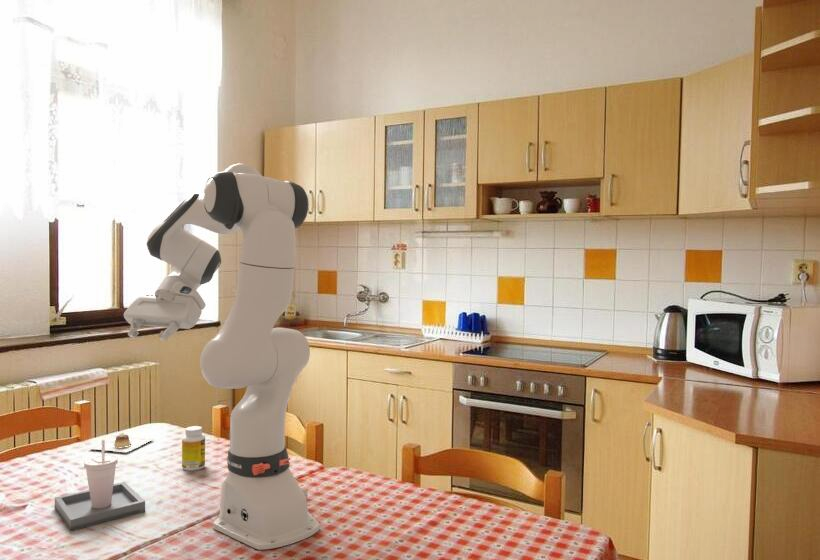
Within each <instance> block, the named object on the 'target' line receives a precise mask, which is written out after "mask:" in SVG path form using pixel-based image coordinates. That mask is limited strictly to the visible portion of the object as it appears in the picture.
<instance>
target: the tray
mask: <svg viewBox="0 0 820 560" xmlns="http://www.w3.org/2000/svg"><path fill="white" fill-rule="evenodd" d="M54 509H55V511H56V513H58V515H59V516H60V518H61V519H62V520H63V523H64V524H65V525H66V527H67V528H68V529H69V532H72V531H77V530H80V529H84V527H85V528H89V527H91V526H96V525H99V524H103V523H107V522H111V521H114V520H118V519H123V518H126V517H129V516H134V515H138V514H140V513H145V512H146V500H145V499H144V498H142V497H141V496H140V495H139V494H138V493H137V492H136V491H135V490H134V489H133V488H132V487H131V486H130V485H129V484H128V483H126V481H122V482H118V483H114V485H113V493H112V501H111V505H109V506H107V507H104V508H92V505H91V499H90V492H89V489H86V490H82V491H79V492H73V493H70V494H65V495H64V494H63V495H61V496H57V497H56V496H55V497H54ZM76 529H77V530H76Z"/></svg>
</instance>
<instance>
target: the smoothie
mask: <svg viewBox="0 0 820 560" xmlns="http://www.w3.org/2000/svg"><path fill="white" fill-rule="evenodd" d="M105 441H106V440H105V439H101V443H102V447H101V449H102V451H101V455H97V456H93V457H90V458H87V459H86V460H85V461H84V463H83V468H84V469H85V472H86V477H87V485H88V490H89V492H90V499H91V505H92V508H104V507H107V506H109V505H111V501H112V493H113V485H114V484H115V483H114V482H115V475H116V474H115V473H116V468H117V465H118V463H119V462H118V457H117V456H115V455H107V454H105V453H106V451H105V450H106V448H105V446H106V445H105Z"/></svg>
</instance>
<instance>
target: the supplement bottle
mask: <svg viewBox="0 0 820 560" xmlns="http://www.w3.org/2000/svg"><path fill="white" fill-rule="evenodd" d="M184 433H185V434H184V435H183V436H182V438H181V468H182V469H183V470H184V471H190V472H193V471H199V470H201V469H203V468H205V466H206V436H205V435H206V434H204V433H203V426H199V425H193V426H188V427H186V428H185V432H184Z"/></svg>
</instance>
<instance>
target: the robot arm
mask: <svg viewBox="0 0 820 560" xmlns="http://www.w3.org/2000/svg"><path fill="white" fill-rule="evenodd" d="M308 211H309V197H308V194H307V192H306V191H305V188H304V187H303V186H301V185H299V184H297V183H295V182H292V181H290V180H285V181H283V180H280V179H277V178H274V177H273V178H272V177H268V176H263V175H262V174H261V173H260V172H259V171H258V170H257V169H256V168H255V167H253V166H251V165H250V164H249V165H248V164H246V163H236V164H232V165H230V166H229V167H228V168H226V169H225V170H224V171H217V172H214V173H212V175H210V177H209V178H208V179H207V181H206V183H205V188H204V190H203V192H202V193H199V192H194V193H192V194H190V195H189V196H187V197H186V198H185V199H184V200H183V201H182V202H181V203H180V204H179V205H178V206H177V207H176V208H175V209H174V210H173V211H172V212H171V214H169V215H168V217H166V219H164V220H163V221H162V222H161V223H159V224H158V225H156V227H154V228H153V230H152V231H151V232H150V234H149V236H148V237H147V240H146V247H147V250H148V252H149V254H150V256H152V257H155V258H156V259H158V260H160V261H163V262H165V263H166V264H169V265H171V266H172V267H171V270H170V272H169V274H168V275H166V276H165V277H164V278H163V280H162V282H161V283H160V284H159V285H158V287H157V289H156V290H155V293H153V294H150V293H147V294H144V295H141V296H139V297H137V298H135V299H134V301H133V302H132V303H130V305H129V306H128V307H127V308H126V310H125V311H124V313H123V318H124V319H125V321H126V322H127V324H129V325H130V329H129V330H128V332H127V336H128V337H129V338H135V339H136V338H137V336H138V335H139V334H140V332H139V331H138V329H140V327H141V326H145V327H157V328H158V327H159V328H165V330H161V331H160V332H159V334H158V338H159V339H160V341H168V339H169V338H170V337H171V336H172V335H173V334H175V333H176V332H177V331H178V330H179V329H184V330H185V329H187V330H190V329H191V328H193V327H195V325H196V324H197V322H198V321H199V319H200V317H201V315H202V312H203V310H204V309H205V307H206V303H205V301H204V299H203V298H202V296H201V294H200V293H199V291H198V290H197V289H198V288H199V287H201V286H202V285H204V284H207V283H209V282H210V281H212V279H213V277H214V274H215V272H217V270H218V269H219V267H220V265H221V264H222V258H221V254H220V250H219V249H217V248H216V247H215V246H213V245H212V244H210V243H209V242H206V241H205V240H204V239H201V238H199V237H198V236H196V235H194V234H193V233H191V232H189V231H188V230H186V229H184V227H185V225H192V226H193V225H194V226H197V227H200V228H203V229H206V230H208V231H210V232H213V233H216V234H221V235H229V234H231V235H232V234H234V233H237V232H239V231H240V230H241V232H242V243H241V248H240V255H239V264H238V273H237V281H236V282H237V283H236V287H235V296H234V299H233V303H232V306H231V309H230V311H229V313H228V316H227V318H226V319H225V321H224V323H223V324H222V326H221V328H220V330H219V331H218V332H217V333H216V334H215V335H214V337H213V338H211V340H209V341H208V342H207V343H206V344H205V345H204V346H203V349H202V351H201V354H200V358H199V367H200V373H201V375H202V376H203V378H204V380H205V381H206V382H207V383H208V385H210V386H211V387H213V388H216V389H227V390H230V389H232V390H233V389H235V390H237V389H242V388H246V389H245V392H244V395H243V397H242V398H241V399H240V401H239V402H238V403H237V404H236V405H235V407H233V409H232V411H231V414H230V419H229V420H230V422H229V424H230V426H229V427H230V428H229V449H228V450H227V455H226V456H227V458H226V459H227V460H226V462H227V470H228V473H227V475H226V477H225V479H224V481H223V482H222V484H221V490H220V499H219V500H220V501H219V515H218V517H217V518H216V519H215V520H214V521H213V526H212V528H213V529H214V530H216V531H218V532H219V533H222V534H225V535H227V536H228V537H231V538H233V539H234V540H237V541H239V542H242V544H246V546H250V547H252V548H254V549H256V550H260V551H261V550H272V549H276V548H280V547H284V546H288V545H291V544H294V543H297V542H300V541H302V540H305V539H307V538H309V537H311V536H313V535H315V534H316V533H318V532H319V530H321V525H320V524H321V523H319V521H318V520H317V519H316V518H315V517H314V516H313V515H312V514H311V513H310V512H309V511H308V510H309V509H308V508H309V507H308V501H307V498H308V494H309V493H308V489H307V488H306V487H300V485H299V483H298V481H297V477H295V476H294V475H293V473H292V472H291V469H290V464H291V462H290V460H291V458H290V457H289V453H288V450H287V446H286V445H285V444H286V443H285V441H286V440H285V439H286V437H285V436H286V435H285V434H286V418H287V417H286V415H287V409H288V408H287V407H288V404H289V399H290V396H291V393H292V391H293V387H294V385H295V383H296V380H297V379H298V377H299V376H300V373H301V372H302V371H303V370H304V368H305V367H306V366H307V364H308V362H309V360H310V357H311V349H310V345H309V342H308V339H307V337H306V336H305V335H304V334H303V333H302V332H301V331H299V330H297V329H293V328H286V327H274V326H275V324H276V322H277V321H278V319H279V318H280V316H282V314H283V313H285V312H286V311H287V310H288V308H289V307H290V305H291V303H292V300H293V299H292V297H293V288H294V279H295V269H296V260H297V259H296V257H297V256H296V254H297V239H296V229H297V228H299V227H300V226H302V224H303V223H304V222H305V220H306V218H307V216H308Z"/></svg>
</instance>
